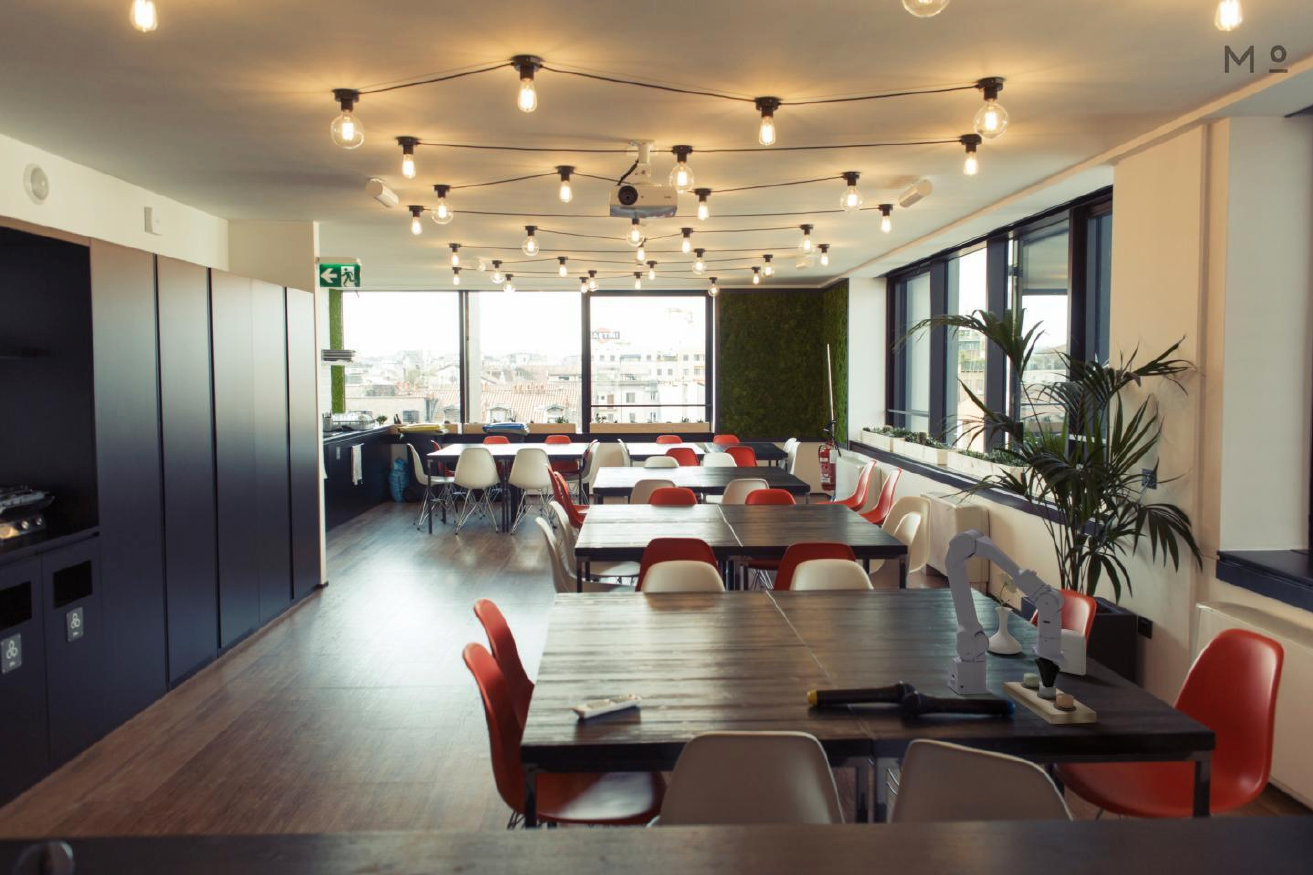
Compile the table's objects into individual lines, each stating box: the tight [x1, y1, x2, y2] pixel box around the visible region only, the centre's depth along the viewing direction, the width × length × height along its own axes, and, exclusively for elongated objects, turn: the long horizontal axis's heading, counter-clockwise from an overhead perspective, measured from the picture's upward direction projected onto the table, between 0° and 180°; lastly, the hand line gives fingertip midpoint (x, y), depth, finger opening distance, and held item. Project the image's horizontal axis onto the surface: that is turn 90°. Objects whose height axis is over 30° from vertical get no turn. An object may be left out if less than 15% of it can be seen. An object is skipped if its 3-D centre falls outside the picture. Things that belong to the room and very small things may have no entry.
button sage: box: [1023, 672, 1041, 687], centre depth 240 cm, size 4×4×2 cm
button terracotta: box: [1056, 692, 1075, 708], centre depth 224 cm, size 4×4×2 cm
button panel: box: [1002, 680, 1098, 725], centre depth 233 cm, size 12×24×3 cm, turn 6°
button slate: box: [1039, 684, 1057, 698], centre depth 232 cm, size 4×4×2 cm
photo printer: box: [1059, 628, 1087, 676], centre depth 260 cm, size 10×4×12 cm, turn 47°
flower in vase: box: [987, 570, 1023, 655], centre depth 280 cm, size 13×11×25 cm
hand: (1048, 686), depth 232 cm, fingers closed, pressing on button slate
